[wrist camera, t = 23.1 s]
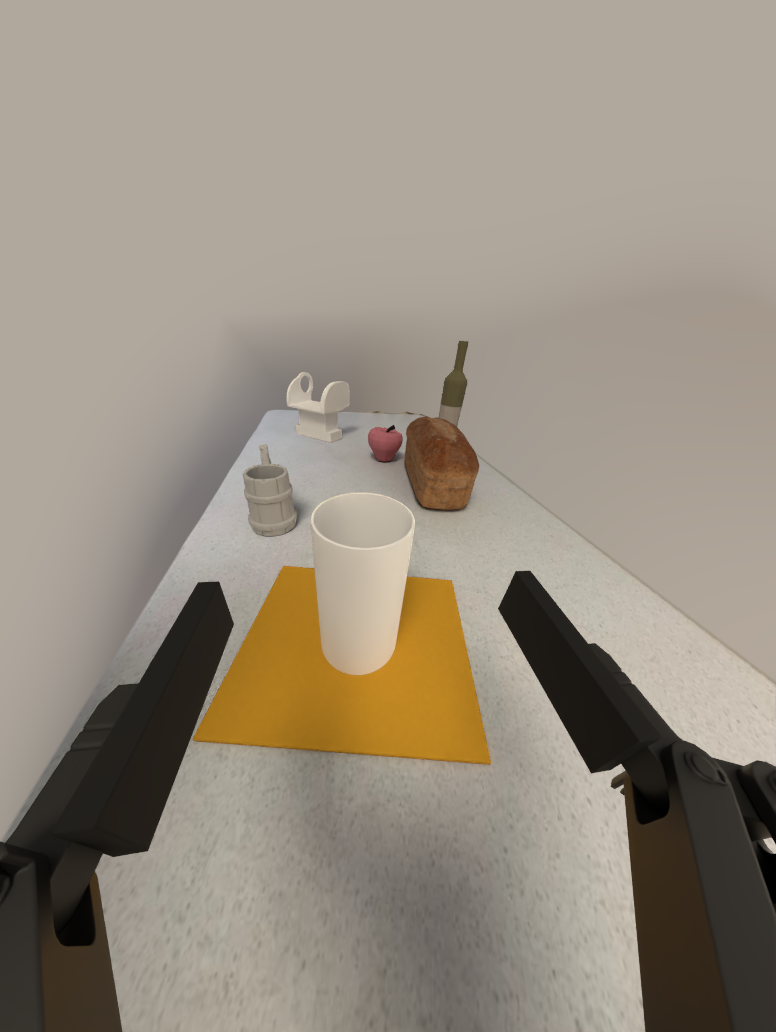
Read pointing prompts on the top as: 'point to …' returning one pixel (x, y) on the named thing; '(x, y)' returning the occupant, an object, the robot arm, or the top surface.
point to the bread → (440, 463)
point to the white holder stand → (319, 408)
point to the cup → (360, 577)
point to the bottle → (454, 388)
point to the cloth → (351, 683)
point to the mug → (269, 497)
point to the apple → (384, 442)
